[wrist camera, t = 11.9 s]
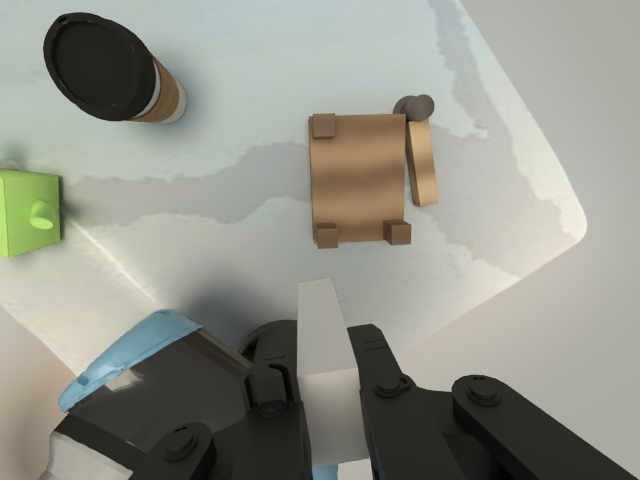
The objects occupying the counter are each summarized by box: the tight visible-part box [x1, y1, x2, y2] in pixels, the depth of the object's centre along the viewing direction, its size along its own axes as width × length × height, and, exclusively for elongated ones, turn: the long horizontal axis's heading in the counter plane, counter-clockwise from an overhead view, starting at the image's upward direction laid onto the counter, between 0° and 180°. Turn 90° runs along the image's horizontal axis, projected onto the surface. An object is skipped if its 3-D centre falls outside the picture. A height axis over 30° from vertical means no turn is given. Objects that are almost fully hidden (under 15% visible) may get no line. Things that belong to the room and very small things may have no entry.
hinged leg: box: [400, 95, 438, 207], centre depth 43 cm, size 14×3×4 cm, turn 12°
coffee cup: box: [43, 12, 187, 124], centre depth 34 cm, size 8×8×15 cm
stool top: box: [308, 96, 416, 249], centre depth 42 cm, size 19×16×8 cm
